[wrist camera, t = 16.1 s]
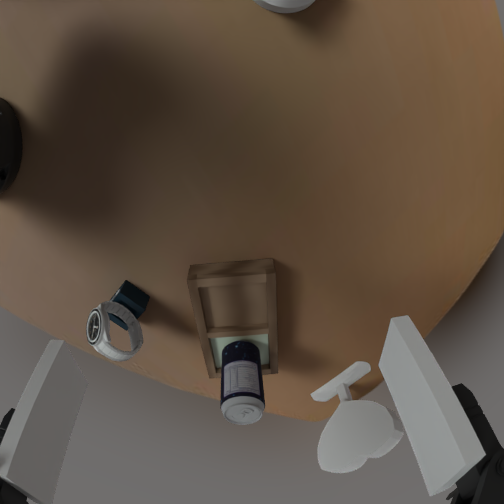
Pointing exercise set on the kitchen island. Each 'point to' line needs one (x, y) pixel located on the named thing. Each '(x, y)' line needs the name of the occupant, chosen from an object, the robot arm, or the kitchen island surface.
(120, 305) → the watch
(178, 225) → the kitchen island surface
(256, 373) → the beverage can
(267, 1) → the wall hook
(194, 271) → the brown divided tray
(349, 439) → the heart sculpture
